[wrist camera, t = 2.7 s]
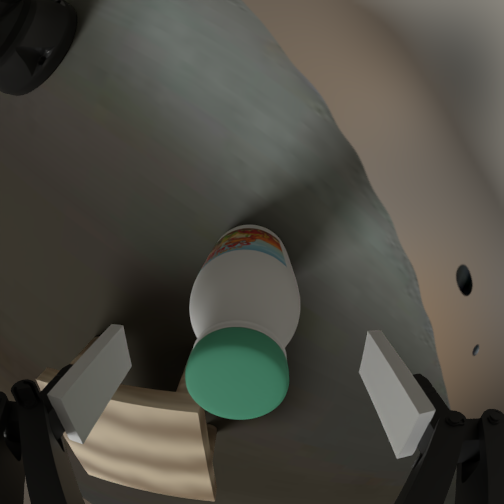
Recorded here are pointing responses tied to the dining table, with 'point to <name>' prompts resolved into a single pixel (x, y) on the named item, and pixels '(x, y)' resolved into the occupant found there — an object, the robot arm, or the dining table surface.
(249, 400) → the milk bottle
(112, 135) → the dining table surface
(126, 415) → the oak footstool
